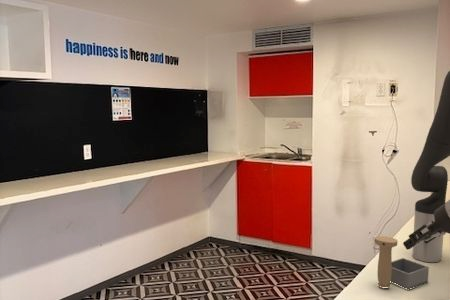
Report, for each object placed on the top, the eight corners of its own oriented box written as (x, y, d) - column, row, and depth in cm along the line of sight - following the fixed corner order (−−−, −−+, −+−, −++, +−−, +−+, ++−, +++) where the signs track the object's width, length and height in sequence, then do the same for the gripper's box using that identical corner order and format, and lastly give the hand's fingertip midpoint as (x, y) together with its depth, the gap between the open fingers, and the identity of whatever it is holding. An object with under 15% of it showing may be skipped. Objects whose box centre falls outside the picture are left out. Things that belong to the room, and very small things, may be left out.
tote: (402, 272, 139) (402, 257, 138) (427, 282, 131) (428, 267, 130) (382, 279, 133) (383, 264, 133) (408, 290, 126) (409, 274, 125)
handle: (375, 281, 132) (377, 235, 130) (397, 287, 128) (399, 239, 126) (370, 287, 128) (372, 239, 126) (392, 292, 124) (395, 243, 122)
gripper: (463, 197, 113) (421, 227, 124) (433, 204, 105) (391, 236, 116) (483, 221, 109) (437, 250, 120) (452, 230, 102) (407, 261, 113)
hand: (414, 243), depth 118 cm, fingers open, 8 cm apart
